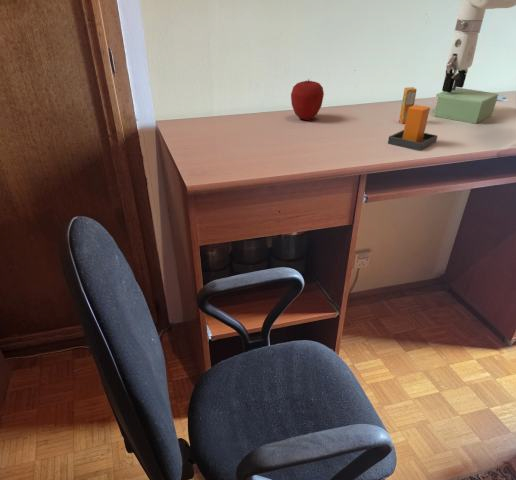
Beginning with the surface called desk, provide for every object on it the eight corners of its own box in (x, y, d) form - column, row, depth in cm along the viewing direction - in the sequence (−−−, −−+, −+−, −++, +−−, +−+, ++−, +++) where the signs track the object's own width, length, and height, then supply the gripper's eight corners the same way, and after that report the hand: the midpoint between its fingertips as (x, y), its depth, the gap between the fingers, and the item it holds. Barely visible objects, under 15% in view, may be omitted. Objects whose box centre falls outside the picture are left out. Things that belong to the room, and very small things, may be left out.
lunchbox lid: (435, 96, 150) (440, 77, 147) (453, 89, 158) (458, 71, 154) (481, 104, 142) (487, 84, 139) (497, 96, 150) (503, 77, 147)
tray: (436, 142, 132) (437, 135, 130) (420, 150, 126) (421, 143, 125) (404, 135, 137) (405, 128, 136) (387, 143, 131) (388, 136, 130)
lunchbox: (433, 115, 154) (438, 97, 150) (451, 108, 162) (455, 90, 158) (475, 123, 146) (481, 104, 142) (491, 115, 154) (497, 96, 150)
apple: (291, 113, 156) (293, 75, 148) (322, 115, 155) (325, 76, 147) (288, 122, 148) (289, 82, 140) (320, 123, 146) (324, 83, 139)
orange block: (422, 141, 131) (430, 107, 125) (415, 144, 129) (422, 110, 123) (408, 138, 134) (415, 104, 128) (401, 141, 131) (408, 107, 125)
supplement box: (397, 121, 149) (404, 86, 142) (407, 120, 149) (414, 86, 142) (400, 123, 146) (407, 89, 140) (411, 123, 146) (418, 89, 140)
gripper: (468, 30, 134) (452, 95, 145) (490, 25, 144) (473, 86, 155) (444, 28, 138) (430, 91, 149) (467, 23, 148) (452, 83, 159)
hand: (452, 89), depth 152 cm, fingers open, 8 cm apart
